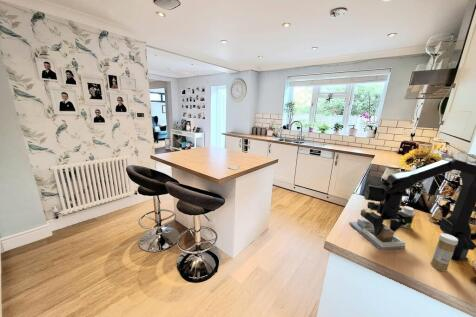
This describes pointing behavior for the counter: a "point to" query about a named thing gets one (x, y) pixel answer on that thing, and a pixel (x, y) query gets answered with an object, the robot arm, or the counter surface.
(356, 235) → the counter surface
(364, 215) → the wheel
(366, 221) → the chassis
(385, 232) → the brown block
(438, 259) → the sprinkles bottle
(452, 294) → the counter surface
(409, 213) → the supplement bottle
